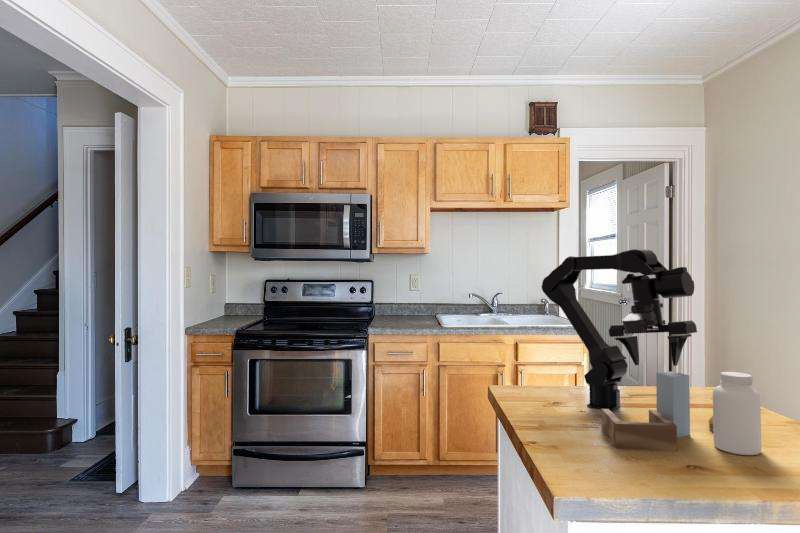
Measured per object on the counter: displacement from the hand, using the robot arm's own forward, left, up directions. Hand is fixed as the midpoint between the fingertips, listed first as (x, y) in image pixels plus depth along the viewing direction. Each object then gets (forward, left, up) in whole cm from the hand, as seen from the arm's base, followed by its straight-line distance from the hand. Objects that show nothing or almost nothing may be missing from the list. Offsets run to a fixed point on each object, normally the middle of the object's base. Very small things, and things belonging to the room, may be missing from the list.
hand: (655, 365), depth 118 cm
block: (+6, -8, -13) cm, 16 cm away
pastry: (+14, +3, -13) cm, 20 cm away
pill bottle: (+18, -10, -13) cm, 24 cm away
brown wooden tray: (+1, -18, -13) cm, 22 cm away
